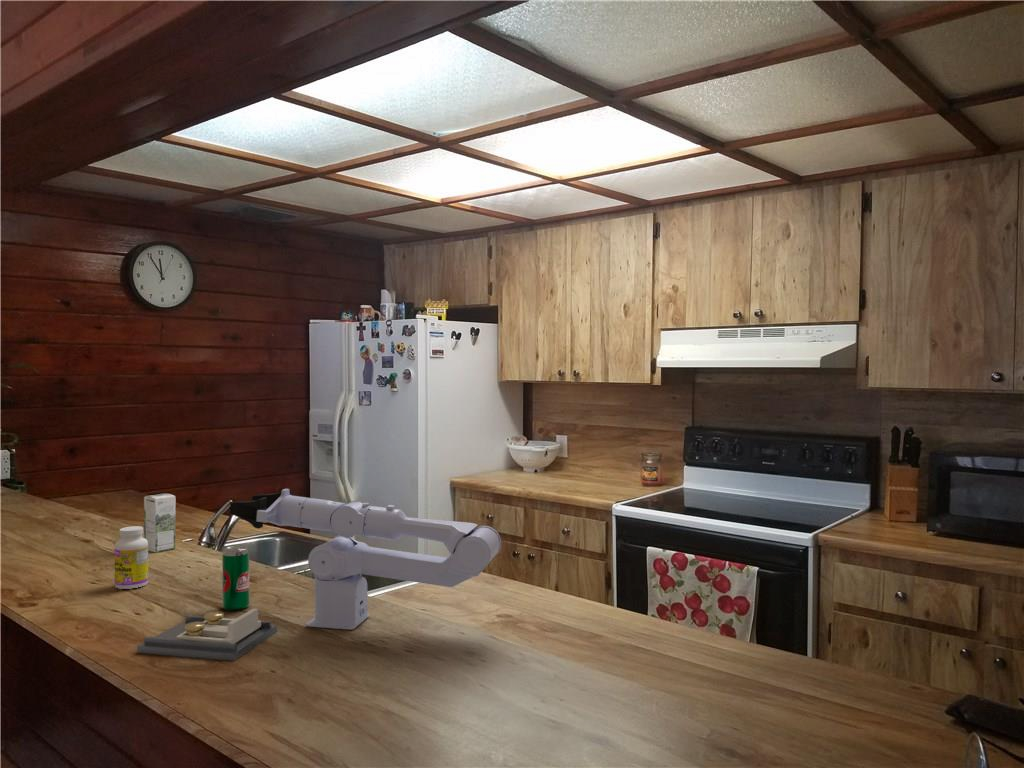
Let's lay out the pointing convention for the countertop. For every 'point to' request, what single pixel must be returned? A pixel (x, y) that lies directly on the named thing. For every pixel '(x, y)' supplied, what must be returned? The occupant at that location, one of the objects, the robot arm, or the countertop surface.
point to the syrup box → (160, 522)
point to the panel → (227, 629)
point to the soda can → (235, 577)
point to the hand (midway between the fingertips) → (242, 504)
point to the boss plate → (203, 649)
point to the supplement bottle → (131, 559)
